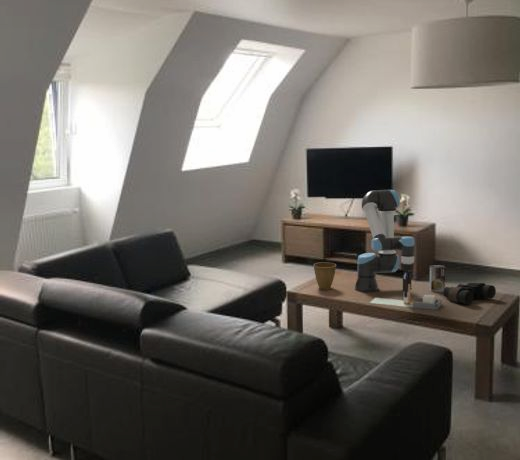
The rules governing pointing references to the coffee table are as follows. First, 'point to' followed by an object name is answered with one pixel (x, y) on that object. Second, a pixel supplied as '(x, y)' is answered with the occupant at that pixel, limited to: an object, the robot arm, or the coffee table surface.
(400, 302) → the lane rack
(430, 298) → the pull block
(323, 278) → the plant pot
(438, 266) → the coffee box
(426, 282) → the coffee table surface
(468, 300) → the binoculars
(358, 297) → the coffee table surface
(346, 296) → the coffee table surface
